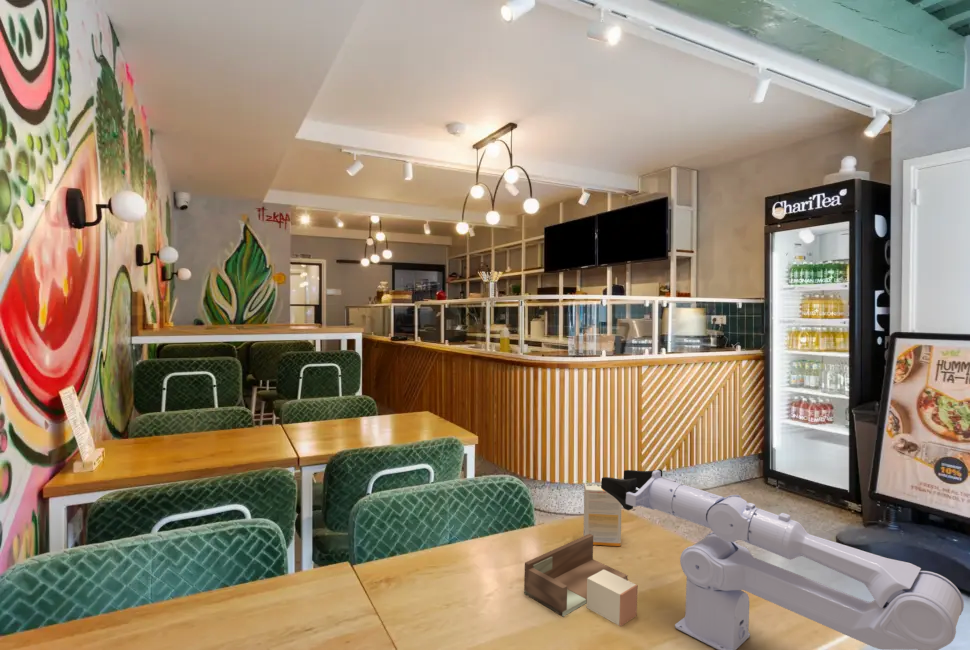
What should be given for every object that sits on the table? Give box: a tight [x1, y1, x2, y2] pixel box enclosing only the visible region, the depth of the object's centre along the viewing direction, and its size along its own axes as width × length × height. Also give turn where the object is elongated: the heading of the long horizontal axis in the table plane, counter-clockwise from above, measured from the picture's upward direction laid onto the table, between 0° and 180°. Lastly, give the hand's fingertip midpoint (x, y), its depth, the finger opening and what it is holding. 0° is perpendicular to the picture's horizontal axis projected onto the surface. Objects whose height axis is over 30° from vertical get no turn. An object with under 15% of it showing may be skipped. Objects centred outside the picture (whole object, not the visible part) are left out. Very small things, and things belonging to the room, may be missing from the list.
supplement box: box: [583, 482, 623, 547], centre depth 122 cm, size 8×5×13 cm, turn 84°
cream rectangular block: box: [586, 569, 639, 627], centre depth 94 cm, size 7×5×6 cm
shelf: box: [523, 534, 628, 617], centre depth 102 cm, size 10×20×6 cm, turn 132°
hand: (613, 478), depth 102 cm, fingers open, 7 cm apart
